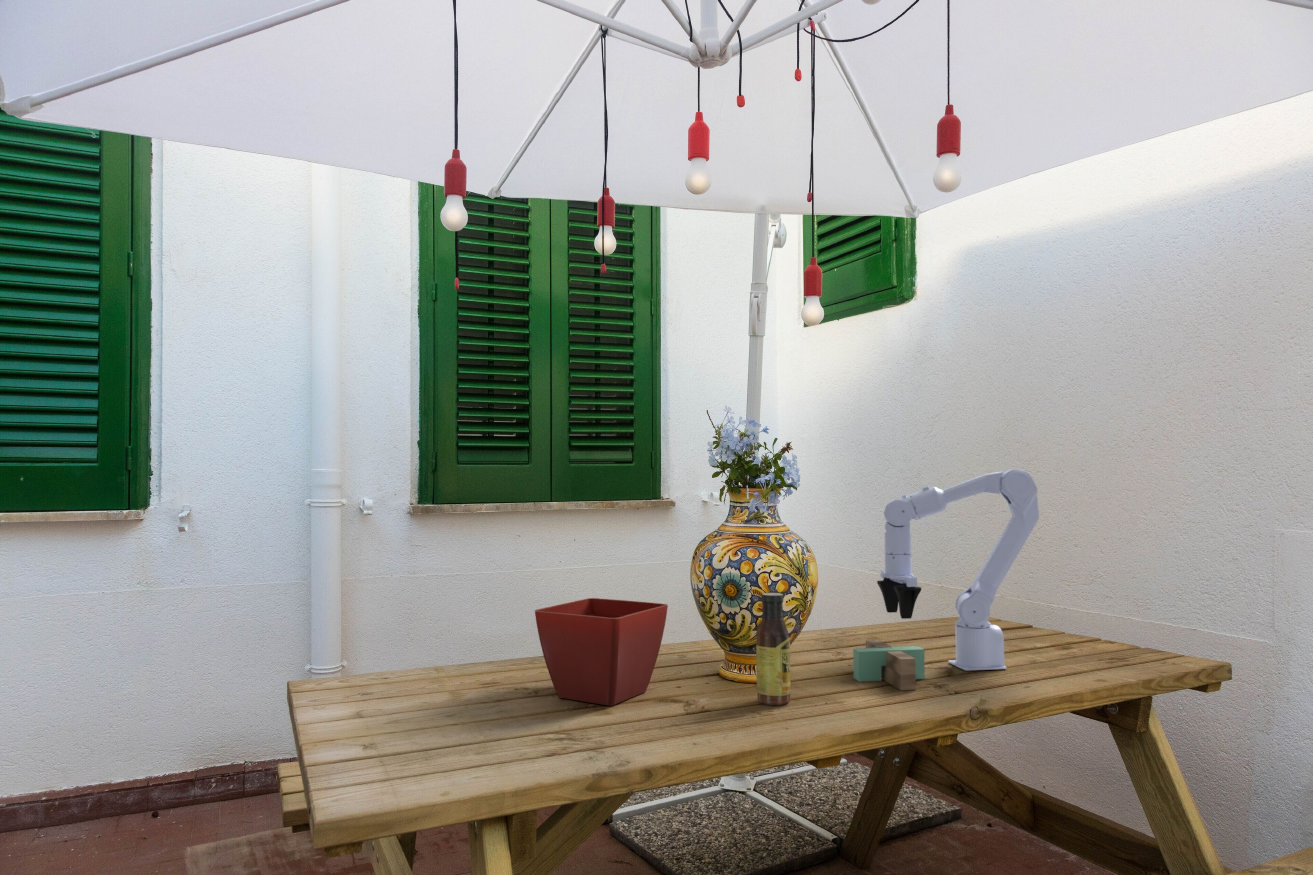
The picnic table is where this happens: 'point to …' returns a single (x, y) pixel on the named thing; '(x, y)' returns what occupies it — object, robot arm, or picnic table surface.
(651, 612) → the plant pot
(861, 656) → the green notched bar
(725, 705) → the picnic table surface
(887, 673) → the walnut notched bar
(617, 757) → the picnic table surface
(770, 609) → the sauce bottle
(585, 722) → the picnic table surface
